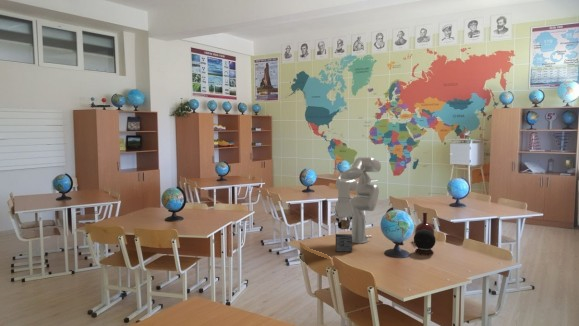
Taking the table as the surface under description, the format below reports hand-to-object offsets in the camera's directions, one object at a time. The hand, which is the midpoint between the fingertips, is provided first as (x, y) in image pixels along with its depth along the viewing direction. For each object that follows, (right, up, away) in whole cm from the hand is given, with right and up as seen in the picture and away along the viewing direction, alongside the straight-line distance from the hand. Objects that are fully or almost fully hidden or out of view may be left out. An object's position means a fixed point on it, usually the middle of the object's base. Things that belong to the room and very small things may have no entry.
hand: (343, 227), depth 267 cm
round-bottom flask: (+59, -14, +23) cm, 65 cm away
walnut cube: (0, -1, 0) cm, 1 cm away
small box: (0, -16, +1) cm, 16 cm away
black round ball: (+50, -16, -4) cm, 53 cm away
